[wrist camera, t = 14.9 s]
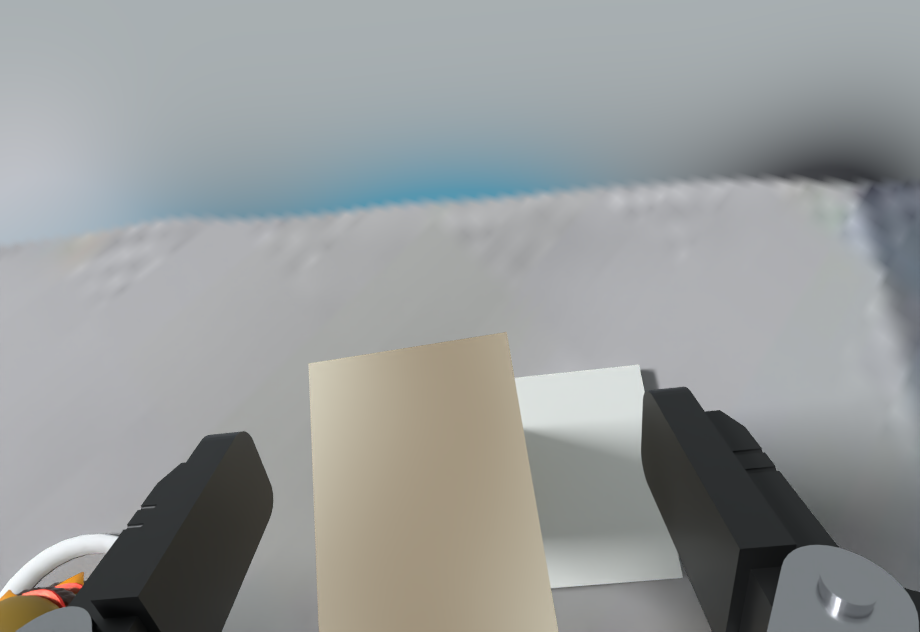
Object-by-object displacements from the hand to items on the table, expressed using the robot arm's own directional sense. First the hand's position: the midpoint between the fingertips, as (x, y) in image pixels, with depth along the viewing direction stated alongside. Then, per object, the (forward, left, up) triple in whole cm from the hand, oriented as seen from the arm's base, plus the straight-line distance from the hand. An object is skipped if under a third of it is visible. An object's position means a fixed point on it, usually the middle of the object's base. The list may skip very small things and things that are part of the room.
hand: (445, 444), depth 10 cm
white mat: (+1, -1, -11) cm, 12 cm away
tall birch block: (0, -1, -11) cm, 11 cm away
